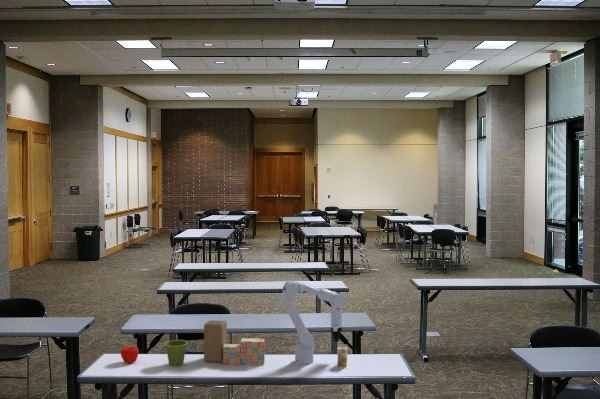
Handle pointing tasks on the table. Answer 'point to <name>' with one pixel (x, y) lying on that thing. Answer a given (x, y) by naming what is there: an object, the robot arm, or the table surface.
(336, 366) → the board
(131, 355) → the apple
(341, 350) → the maple block
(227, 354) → the stack of blocks
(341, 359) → the oak block
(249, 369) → the table surface
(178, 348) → the plant pot
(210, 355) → the block
